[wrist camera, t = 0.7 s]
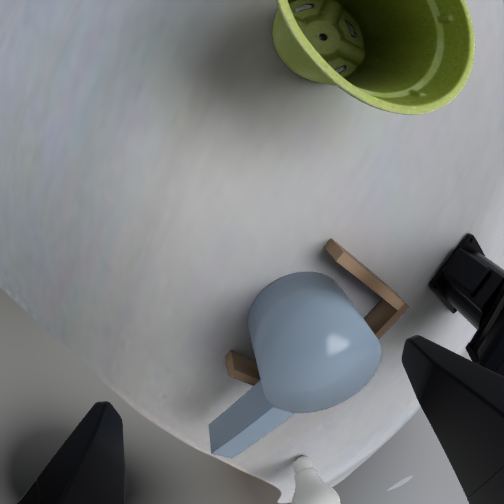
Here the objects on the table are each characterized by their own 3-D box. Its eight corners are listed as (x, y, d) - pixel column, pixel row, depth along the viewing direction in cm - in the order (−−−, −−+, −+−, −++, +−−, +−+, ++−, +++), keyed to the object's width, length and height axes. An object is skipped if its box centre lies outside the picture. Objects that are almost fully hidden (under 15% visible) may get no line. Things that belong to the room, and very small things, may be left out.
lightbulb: (304, 442, 33) (328, 515, 24) (330, 450, 36) (354, 514, 26) (269, 462, 35) (286, 532, 25) (297, 469, 37) (315, 530, 27)
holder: (396, 293, 25) (409, 307, 23) (300, 387, 28) (306, 404, 26) (331, 238, 22) (343, 251, 20) (225, 356, 25) (228, 375, 23)
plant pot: (290, 133, 18) (354, 153, 10) (214, 7, 14) (226, -63, 6) (402, 80, 17) (497, 81, 10) (340, -35, 13) (411, -86, 5)
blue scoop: (294, 251, 22) (328, 304, 16) (363, 301, 25) (401, 352, 19) (178, 383, 26) (177, 444, 20) (248, 409, 29) (259, 463, 23)
